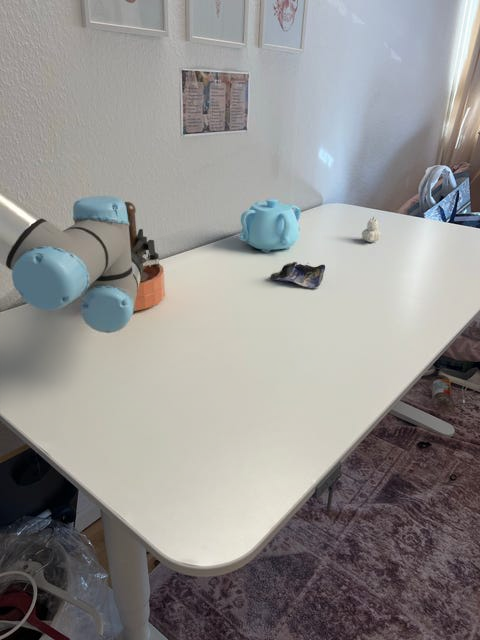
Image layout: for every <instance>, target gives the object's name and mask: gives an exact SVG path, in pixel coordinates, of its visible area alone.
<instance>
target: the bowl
mask: <svg viewBox="0 0 480 640" xmlns="http://www.w3.org/2000/svg"><path fill="white" fill-rule="evenodd" d="M142 272H145V273H147V274H148V276H149V280H148V281H145V282H142V283H140V284H139V287H138V292H137V296H136V300H135V305H134V308H135V309H134V311H133V312H136V311H137V312H138V311H141V310H145V309H149V308H151V307H153V306H156V305H157V304H158V303H160V302H162V301H163V299H164V298H165V296H166V287H165V286H166V285H165V270H164V266H163V265H162V264H160V263H159V267H158V268H154V267H152V266H149V265H148V266H146V268H145V269H144V270H143V271H142Z"/></svg>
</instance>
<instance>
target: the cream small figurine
mask: <svg viewBox="0 0 480 640" xmlns="http://www.w3.org/2000/svg"><path fill="white" fill-rule="evenodd" d="M378 227H379V222H378V220H377V218H375V215H373V217H372V218H369V220H368V222H367V224H366V229H364V230H362V232H361V239H362V240H364V241H365V242H367V243H376V242H377V241H379V240H380V238H381V232H380V231H379V229H378Z"/></svg>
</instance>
